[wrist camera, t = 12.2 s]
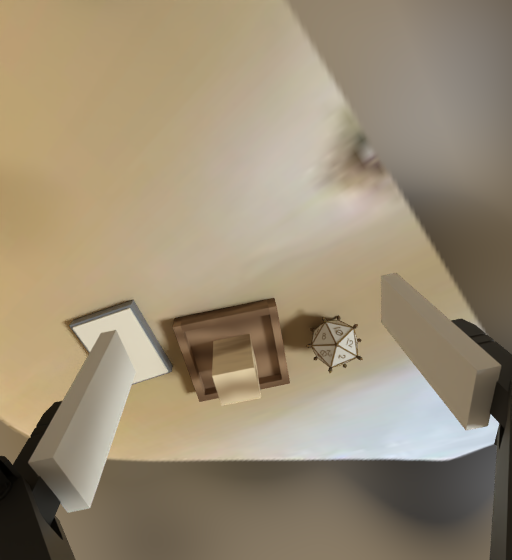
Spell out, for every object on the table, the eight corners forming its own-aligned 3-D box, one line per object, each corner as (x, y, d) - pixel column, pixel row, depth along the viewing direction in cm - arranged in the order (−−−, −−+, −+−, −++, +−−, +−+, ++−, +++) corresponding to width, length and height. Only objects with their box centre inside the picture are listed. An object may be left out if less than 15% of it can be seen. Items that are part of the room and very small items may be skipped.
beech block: (213, 341, 52) (212, 376, 45) (249, 333, 53) (254, 367, 45) (221, 368, 55) (221, 405, 48) (256, 361, 55) (261, 397, 48)
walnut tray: (174, 318, 51) (172, 327, 49) (274, 298, 51) (276, 306, 49) (200, 391, 58) (199, 401, 56) (287, 373, 58) (290, 383, 56)
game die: (318, 325, 59) (307, 379, 54) (307, 300, 53) (294, 358, 48) (369, 330, 55) (363, 387, 50) (364, 303, 49) (357, 366, 44)
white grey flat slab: (72, 320, 50) (68, 326, 48) (133, 299, 49) (130, 305, 47) (118, 383, 56) (115, 391, 54) (172, 366, 55) (171, 373, 54)
